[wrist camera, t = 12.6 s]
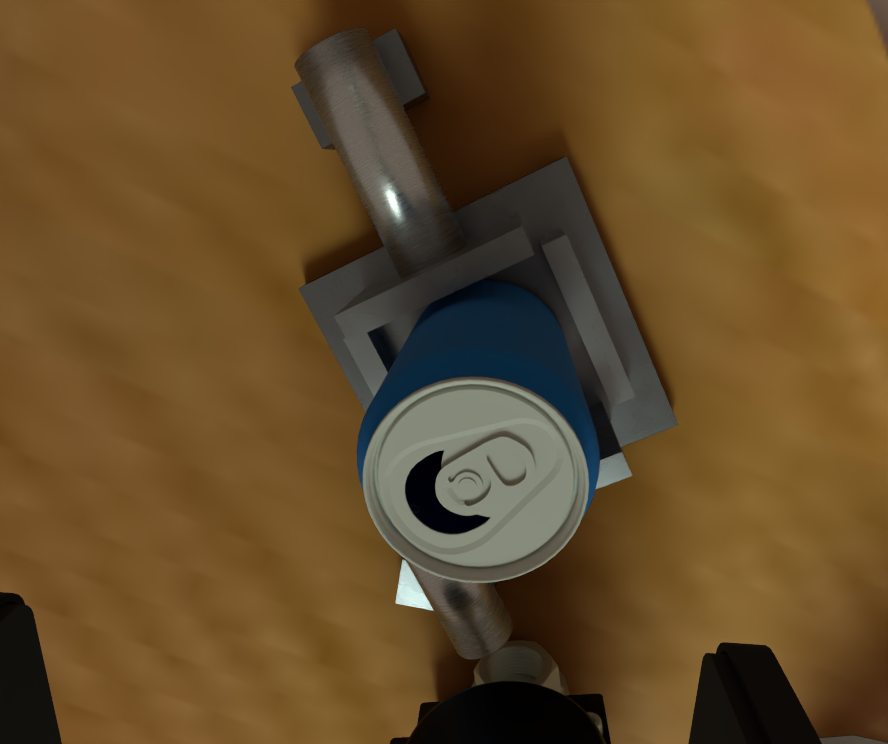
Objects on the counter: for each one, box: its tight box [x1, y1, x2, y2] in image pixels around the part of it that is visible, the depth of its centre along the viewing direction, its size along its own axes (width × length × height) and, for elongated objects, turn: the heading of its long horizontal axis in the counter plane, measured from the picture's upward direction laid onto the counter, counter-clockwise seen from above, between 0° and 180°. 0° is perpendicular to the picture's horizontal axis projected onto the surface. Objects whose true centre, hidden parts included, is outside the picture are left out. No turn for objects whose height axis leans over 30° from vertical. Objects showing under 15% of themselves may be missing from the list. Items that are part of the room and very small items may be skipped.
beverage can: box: [357, 280, 600, 583], centre depth 22 cm, size 6×6×12 cm
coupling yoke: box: [291, 27, 678, 660], centre depth 26 cm, size 24×15×6 cm, turn 26°
